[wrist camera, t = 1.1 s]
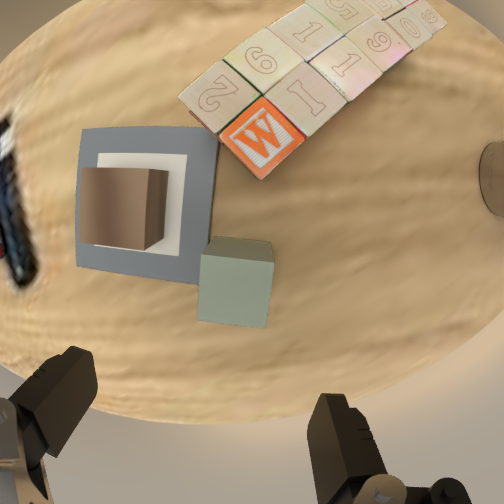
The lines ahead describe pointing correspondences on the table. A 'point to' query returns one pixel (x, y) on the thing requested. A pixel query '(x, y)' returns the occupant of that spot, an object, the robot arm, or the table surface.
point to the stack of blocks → (303, 73)
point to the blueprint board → (192, 199)
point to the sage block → (235, 282)
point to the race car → (1, 246)
